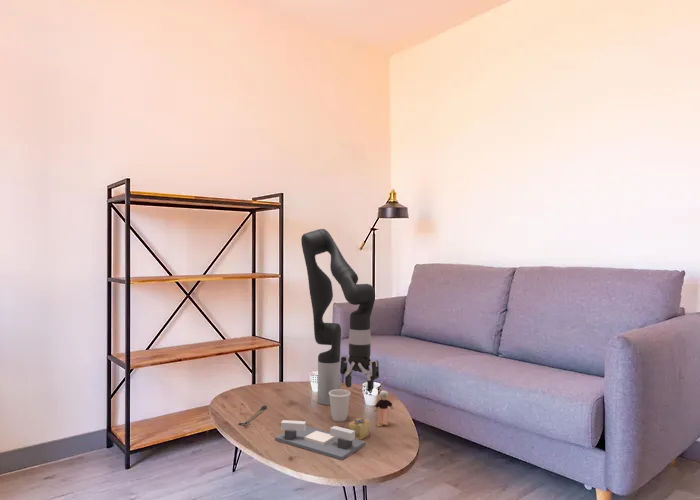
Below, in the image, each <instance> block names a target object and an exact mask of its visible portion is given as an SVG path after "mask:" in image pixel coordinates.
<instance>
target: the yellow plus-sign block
mask: <svg viewBox="0 0 700 500" xmlns="http://www.w3.org/2000/svg"><path fill="white" fill-rule="evenodd" d="M348 424H349V425H348V429H349V430H353V431H355V439H358V440H362V441H363V439H365V438H366V437H368V436H369V435H370V420H369V419H366V418H365V419H364V418H360V417H358V418H356V419H354V420H352V421H350V422H349V423H348Z"/></svg>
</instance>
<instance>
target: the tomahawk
mask: <svg viewBox="0 0 700 500" xmlns="http://www.w3.org/2000/svg"><path fill="white" fill-rule="evenodd" d="M267 408H268V406H267V405H263V406H261V408H260V409H259V410H257V411H256V412H255V413H254V414H253V415H252V416H250V417H249V418H248V419H247V420H246V421H245V422H238V426H239V425H242V424H243V425H242V426H243V427H247V428H248V427H250V425H251V426H252V424H251V422H252V421H253V420H254V419H255V418H257V417H258V416H260V415H261V414H262V413H263V412H264V411H265V410H266V409H267Z"/></svg>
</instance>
